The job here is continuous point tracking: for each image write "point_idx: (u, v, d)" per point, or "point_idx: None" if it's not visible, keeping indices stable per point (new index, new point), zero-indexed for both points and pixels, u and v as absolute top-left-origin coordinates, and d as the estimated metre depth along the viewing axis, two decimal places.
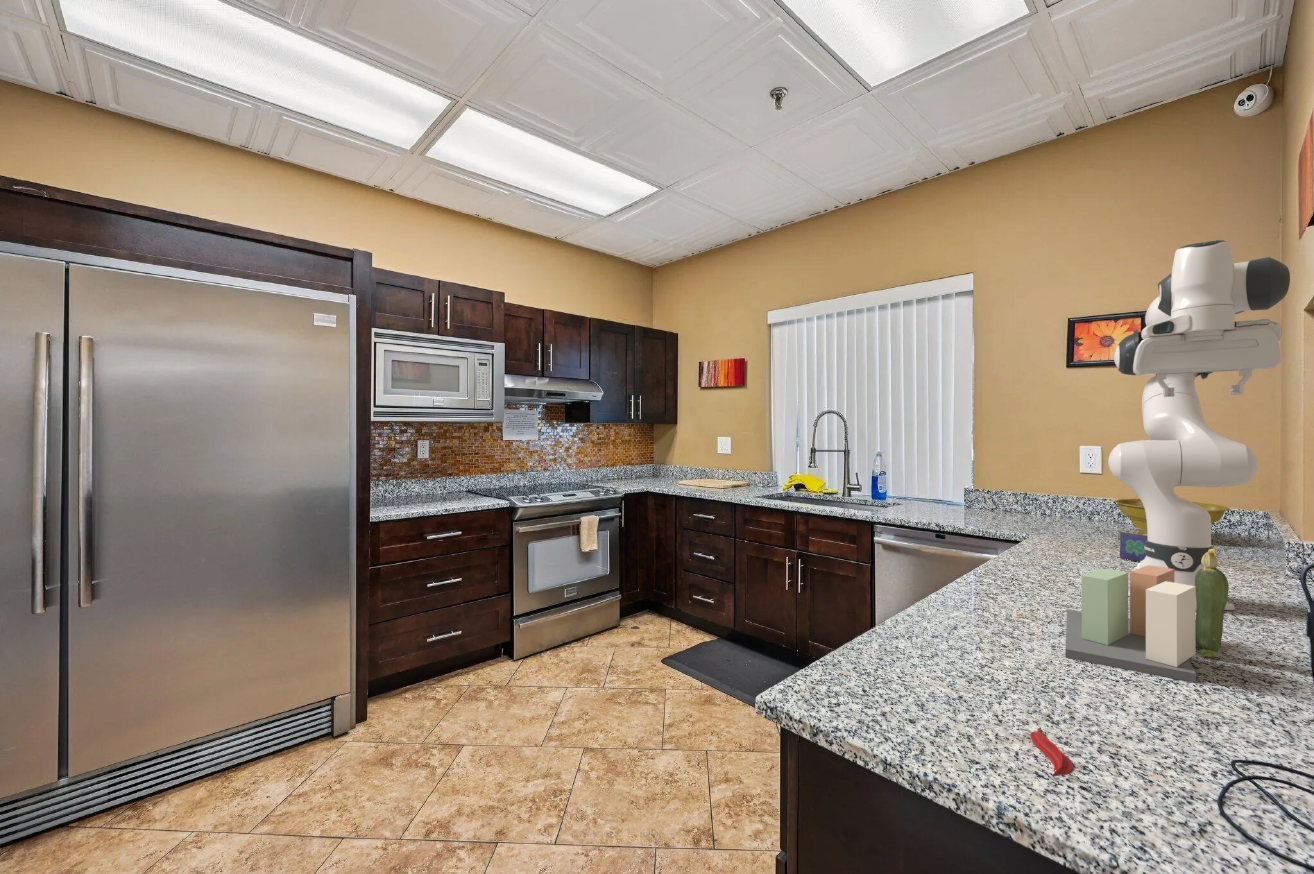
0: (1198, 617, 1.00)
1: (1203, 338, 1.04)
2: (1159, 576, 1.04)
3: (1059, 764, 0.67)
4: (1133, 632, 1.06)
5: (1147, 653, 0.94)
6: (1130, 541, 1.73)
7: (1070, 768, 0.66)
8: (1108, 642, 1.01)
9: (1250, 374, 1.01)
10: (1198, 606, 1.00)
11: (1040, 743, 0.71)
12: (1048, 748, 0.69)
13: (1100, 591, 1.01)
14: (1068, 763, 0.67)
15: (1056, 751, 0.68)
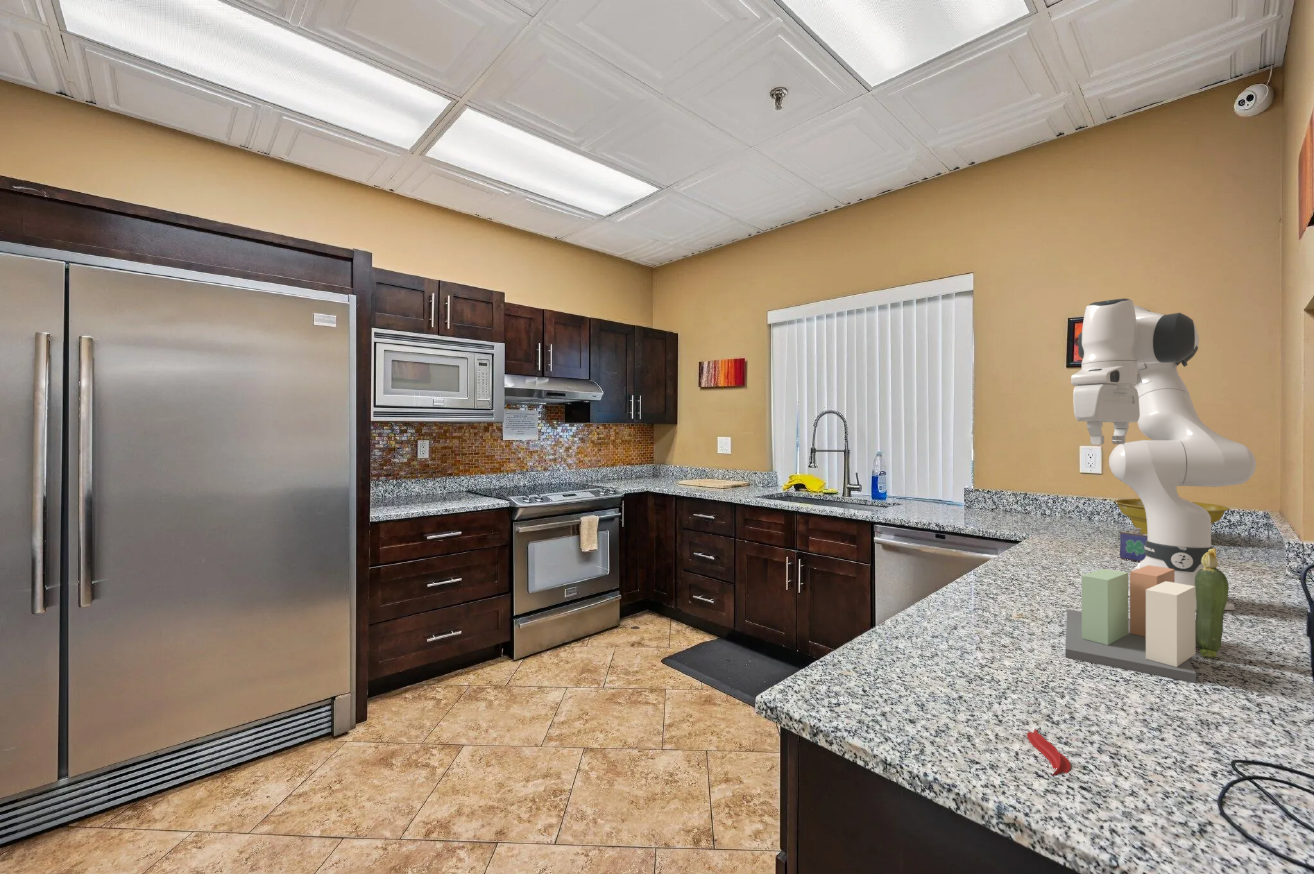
0: (1198, 617, 1.00)
1: (1126, 391, 1.09)
2: (1159, 576, 1.04)
3: (1057, 764, 0.67)
4: (1133, 632, 1.06)
5: (1147, 653, 0.94)
6: (1130, 541, 1.73)
7: (1068, 768, 0.66)
8: (1108, 642, 1.01)
9: (1128, 427, 1.14)
10: (1198, 606, 1.00)
11: (1037, 743, 0.71)
12: (1046, 748, 0.70)
13: (1100, 591, 1.01)
14: (1066, 763, 0.67)
15: (1054, 751, 0.68)
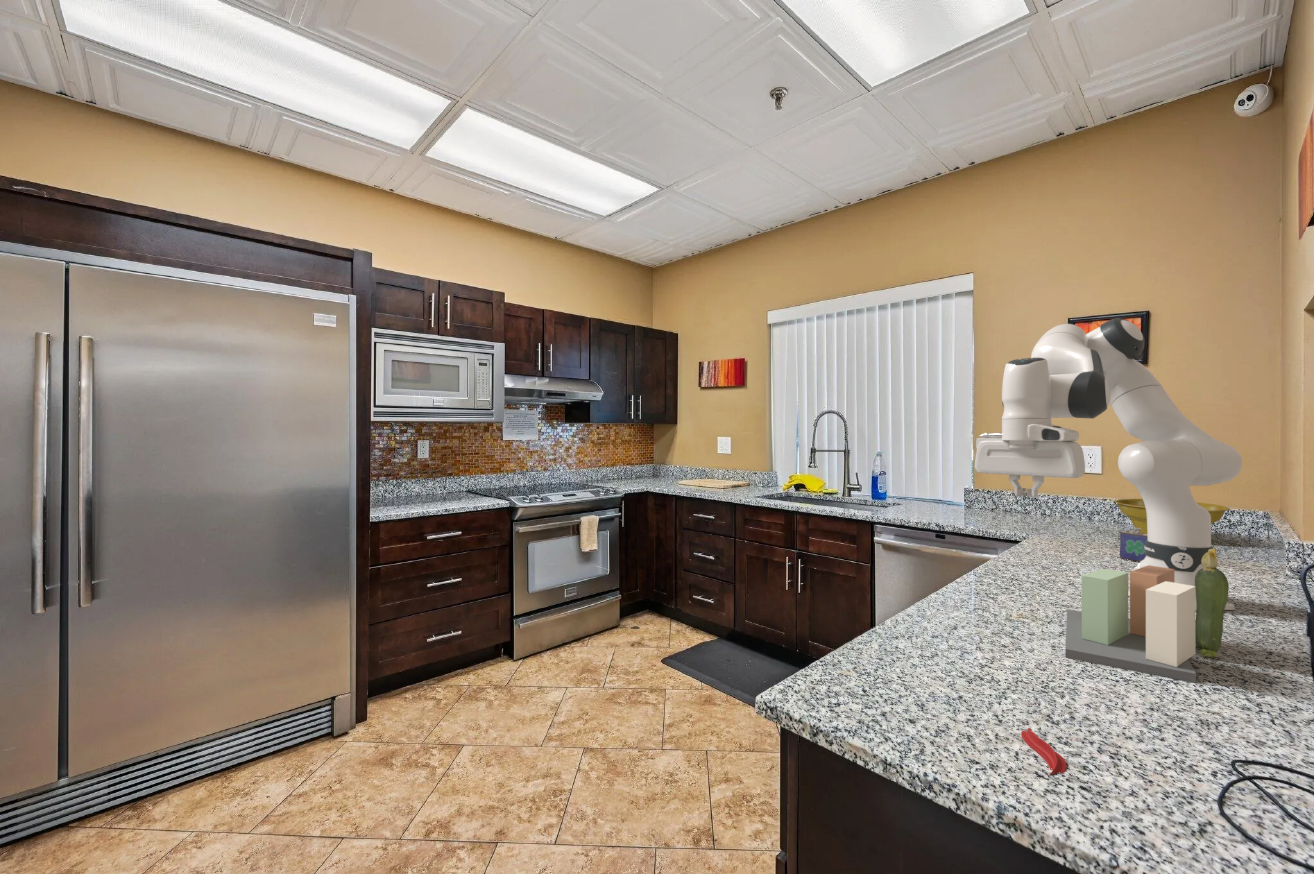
0: (1198, 617, 1.00)
1: None
2: (1159, 576, 1.04)
3: (1054, 763, 0.67)
4: (1133, 632, 1.06)
5: (1147, 653, 0.94)
6: (1130, 541, 1.73)
7: (1064, 767, 0.66)
8: (1108, 642, 1.01)
9: None
10: (1198, 606, 1.00)
11: (1032, 742, 0.71)
12: (1041, 747, 0.70)
13: (1100, 591, 1.01)
14: (1062, 762, 0.67)
15: (1049, 750, 0.68)
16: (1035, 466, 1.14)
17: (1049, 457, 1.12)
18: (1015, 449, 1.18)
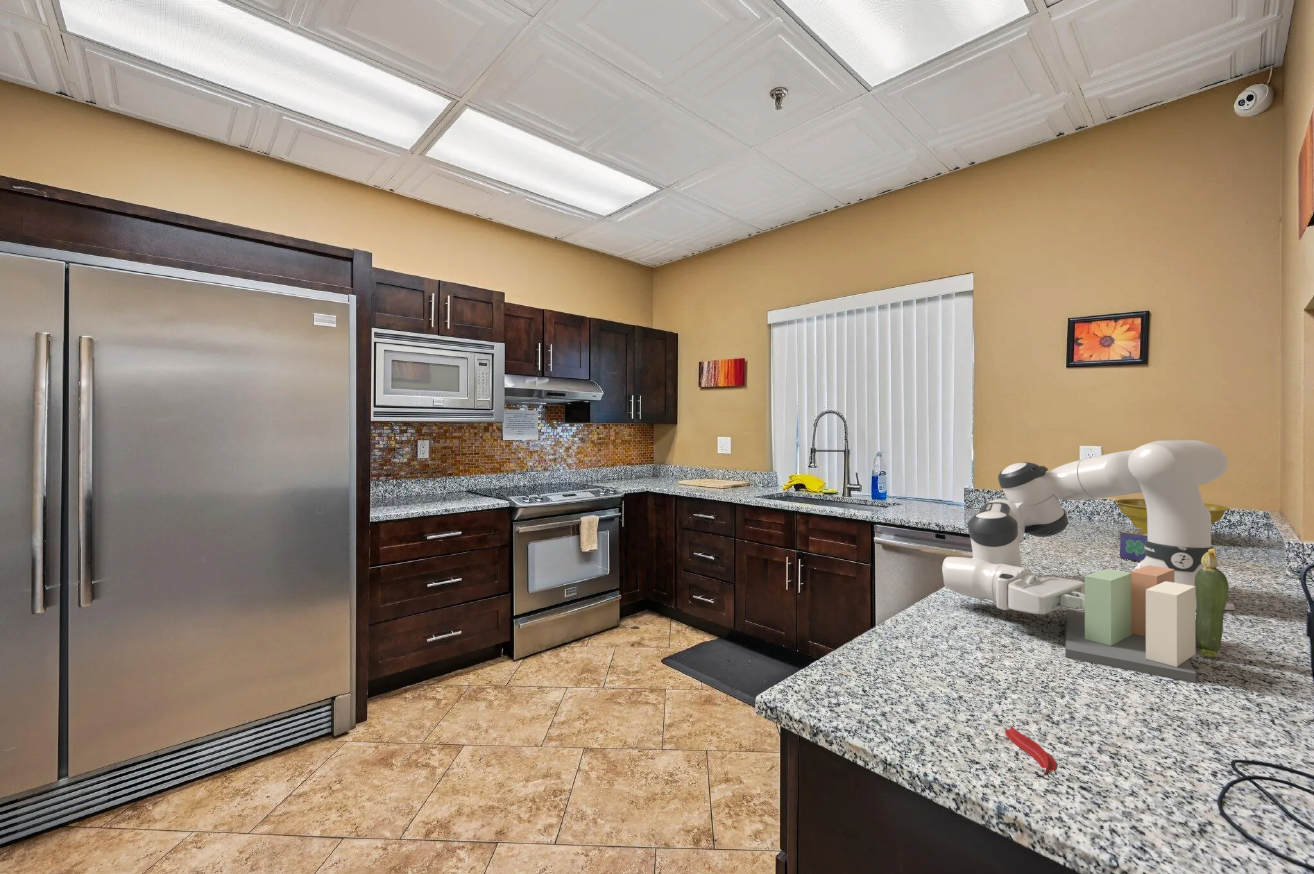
0: (1198, 617, 1.00)
1: (1032, 576, 1.15)
2: (1159, 576, 1.04)
3: (1044, 762, 0.67)
4: (1133, 632, 1.06)
5: (1147, 653, 0.94)
6: (1130, 541, 1.73)
7: (1055, 765, 0.67)
8: (1112, 643, 1.00)
9: (1078, 592, 1.10)
10: (1198, 606, 1.00)
11: (1018, 741, 0.71)
12: (1028, 746, 0.70)
13: (1103, 591, 1.01)
14: (1051, 760, 0.67)
15: (1038, 749, 0.69)
16: None
17: None
18: None
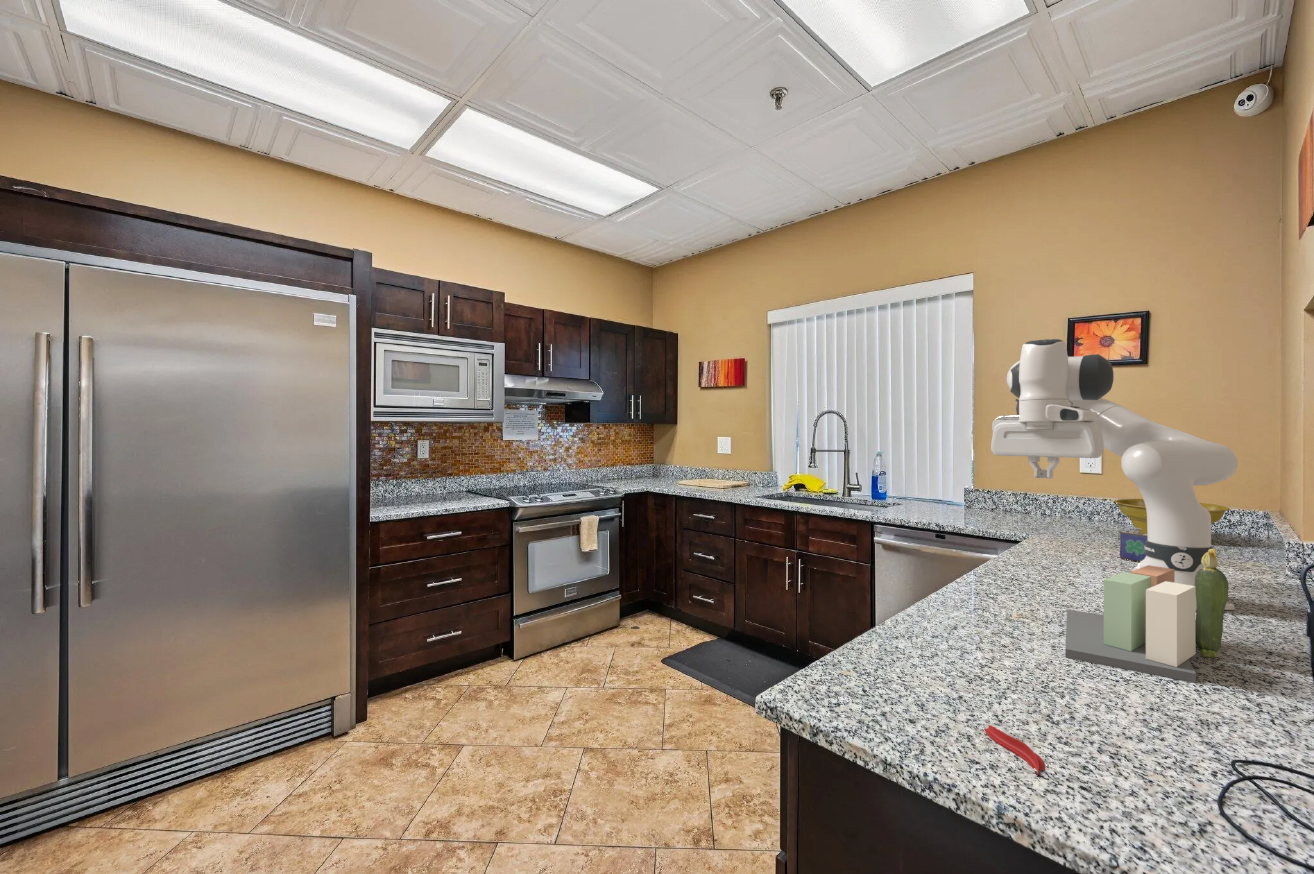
0: (1198, 617, 1.00)
1: None
2: (1159, 576, 1.04)
3: (1033, 761, 0.67)
4: None
5: (1147, 653, 0.94)
6: (1130, 541, 1.73)
7: (1043, 763, 0.67)
8: (1132, 648, 0.98)
9: None
10: (1198, 606, 1.00)
11: (1002, 741, 0.71)
12: (1013, 745, 0.70)
13: (1123, 595, 0.98)
14: (1038, 758, 0.68)
15: (1024, 748, 0.69)
16: (1053, 447, 1.14)
17: (1067, 438, 1.12)
18: (1032, 430, 1.17)
